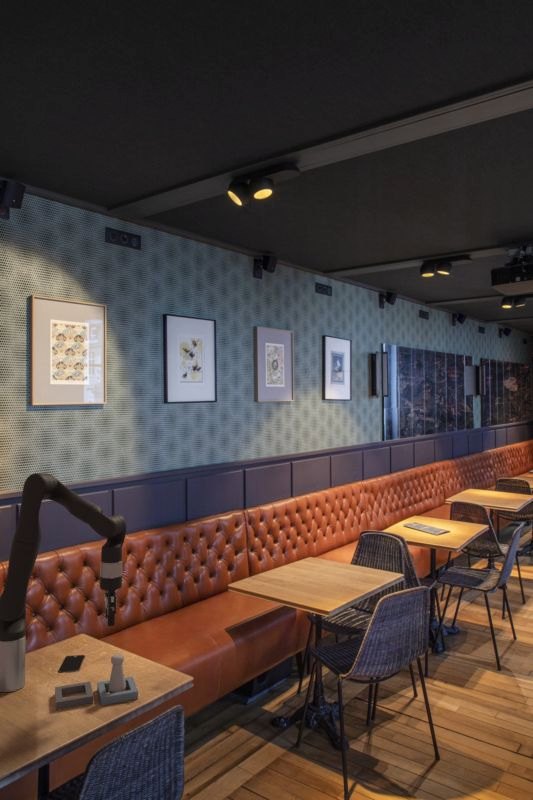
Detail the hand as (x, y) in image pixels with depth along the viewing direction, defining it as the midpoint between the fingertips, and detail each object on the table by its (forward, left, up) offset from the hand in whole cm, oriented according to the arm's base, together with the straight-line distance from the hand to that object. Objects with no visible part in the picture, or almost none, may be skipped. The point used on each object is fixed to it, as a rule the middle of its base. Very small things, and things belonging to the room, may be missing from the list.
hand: (109, 621), depth 200 cm
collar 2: (+2, -3, -24) cm, 24 cm away
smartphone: (-11, +29, -25) cm, 40 cm away
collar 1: (-12, -1, -24) cm, 27 cm away
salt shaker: (+2, -3, -24) cm, 24 cm away
